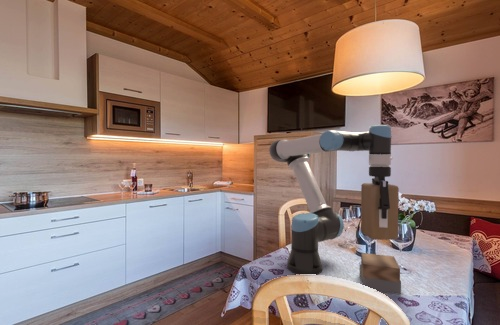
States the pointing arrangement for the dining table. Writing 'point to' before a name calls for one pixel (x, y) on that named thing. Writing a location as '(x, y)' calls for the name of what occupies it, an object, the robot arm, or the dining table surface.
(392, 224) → the wooden block
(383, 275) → the tower top slab
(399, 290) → the tower base slab
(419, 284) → the dining table surface
